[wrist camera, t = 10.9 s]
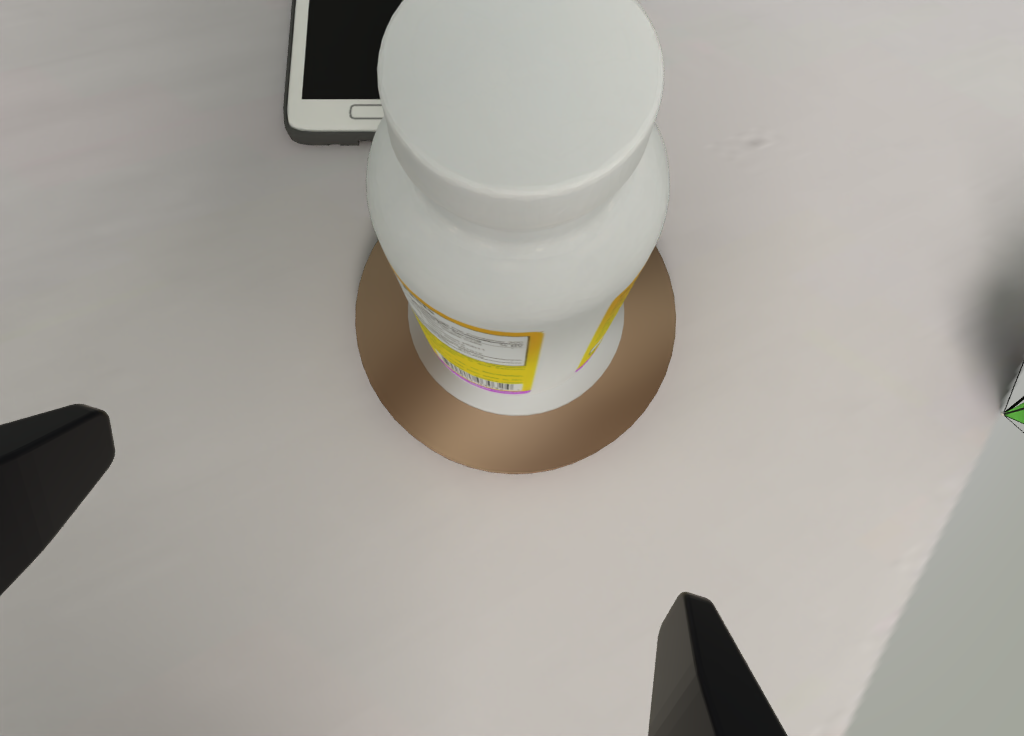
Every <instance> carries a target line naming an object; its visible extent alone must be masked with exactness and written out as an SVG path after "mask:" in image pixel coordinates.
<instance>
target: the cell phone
mask: <svg viewBox="0 0 1024 736" xmlns="http://www.w3.org/2000/svg"><path fill="white" fill-rule="evenodd" d="M402 1H403V0H292V10H291V22H290V34H289V46H288V58H287V70H286V82H285V94H284V106H283V110H284V124H285V128H286V130H287V132H288V134H289V136H290V137H291V139H292V140H294V141H295V142H297V143H300V144H306V145H329V144H340V145H359V141H373V138H374V135H375V133H376V130H377V128H378V125H379V124H380V122H381V120H382V118H383V116H384V112H383V108H382V104H381V101H380V95H379V90H378V76H377V66H378V57H379V51H380V47H381V42H382V38H383V36H384V33H385V30H386V28H387V26H388V24H389V22H390V19H391V17H392V15H393V14H394V13H395V11H396V10H397V8H398V7H399V5H400V4H401V3H402Z"/></svg>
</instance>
